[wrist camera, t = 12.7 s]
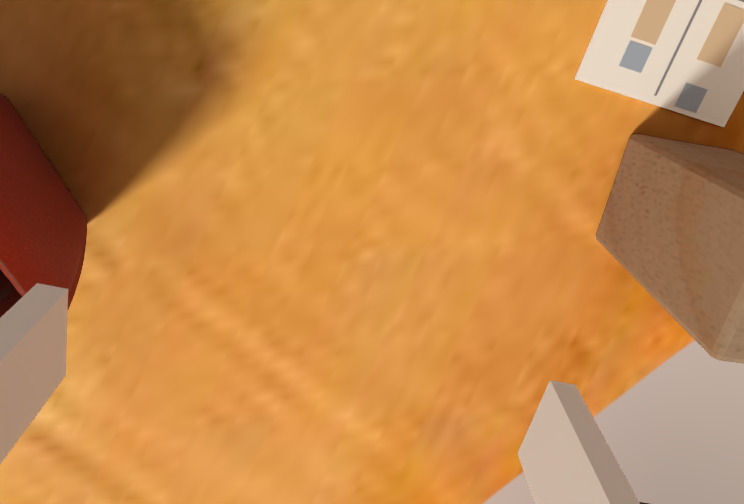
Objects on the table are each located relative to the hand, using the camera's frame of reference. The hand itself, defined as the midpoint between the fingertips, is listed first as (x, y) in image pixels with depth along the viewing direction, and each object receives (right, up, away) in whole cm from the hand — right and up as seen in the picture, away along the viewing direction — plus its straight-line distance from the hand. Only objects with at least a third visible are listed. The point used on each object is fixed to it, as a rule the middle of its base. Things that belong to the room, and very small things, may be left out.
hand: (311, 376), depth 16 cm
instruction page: (+26, +20, +32) cm, 46 cm away
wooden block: (+28, +9, +37) cm, 47 cm away
